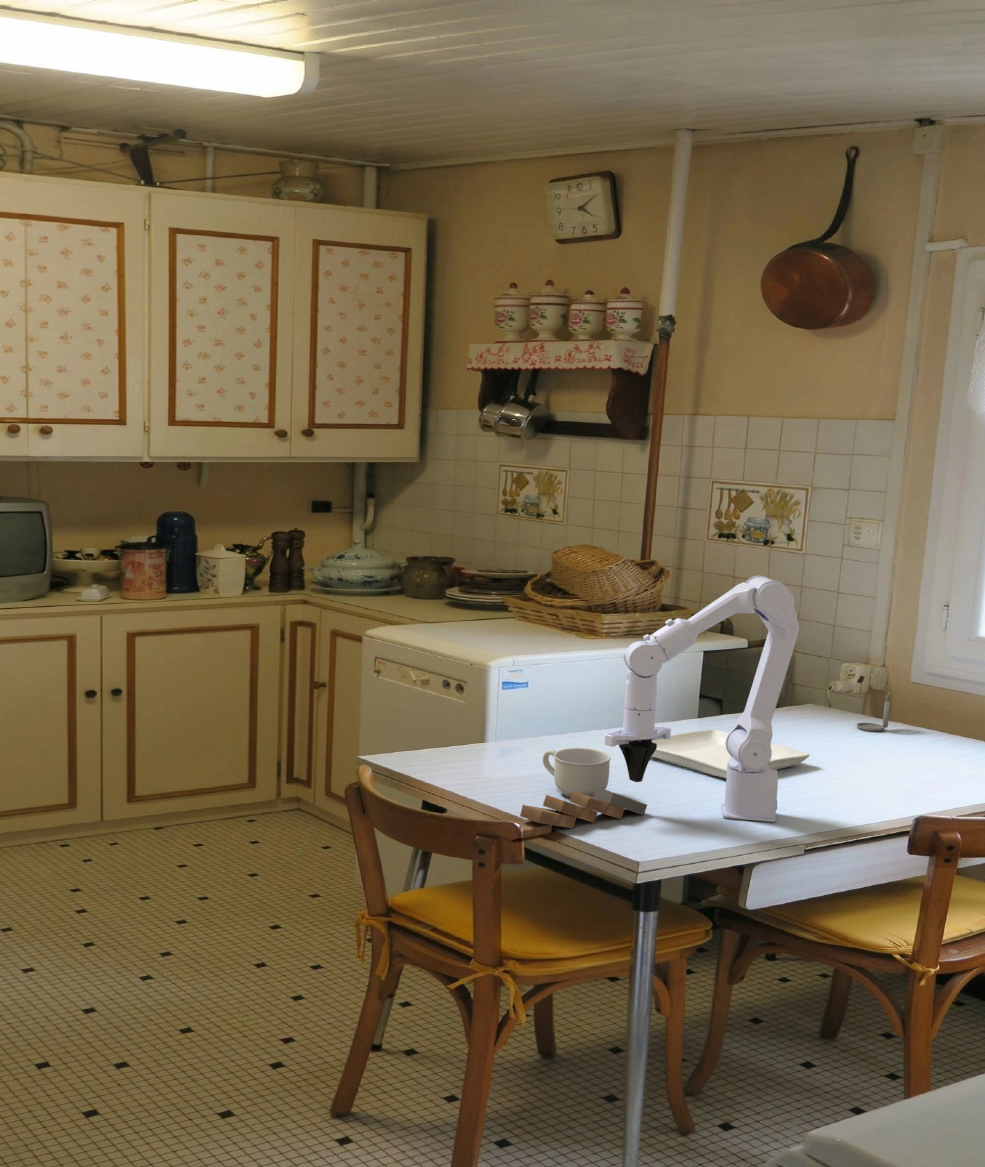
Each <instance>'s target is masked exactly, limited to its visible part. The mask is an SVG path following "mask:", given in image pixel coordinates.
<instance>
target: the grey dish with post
mask: <svg viewBox="0 0 985 1167" xmlns="http://www.w3.org/2000/svg"><path fill="white" fill-rule="evenodd" d="M890 693H891V691H888V694H886V696H885V702H884V708H883V716H882V718H883V719H882V724H878V723H874V722H858V723H856V728H858V729H860V730H863V731H868V732H882V731H885V729H886V728H888V726H889V721H890V720H889V718H890V704H891V702H890V701H889V699H890V697H889V696H890Z"/></svg>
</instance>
